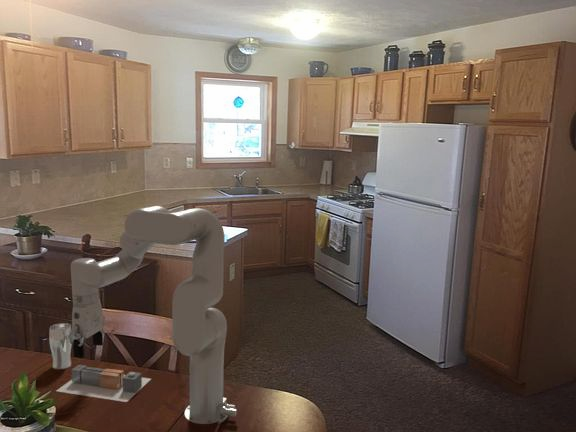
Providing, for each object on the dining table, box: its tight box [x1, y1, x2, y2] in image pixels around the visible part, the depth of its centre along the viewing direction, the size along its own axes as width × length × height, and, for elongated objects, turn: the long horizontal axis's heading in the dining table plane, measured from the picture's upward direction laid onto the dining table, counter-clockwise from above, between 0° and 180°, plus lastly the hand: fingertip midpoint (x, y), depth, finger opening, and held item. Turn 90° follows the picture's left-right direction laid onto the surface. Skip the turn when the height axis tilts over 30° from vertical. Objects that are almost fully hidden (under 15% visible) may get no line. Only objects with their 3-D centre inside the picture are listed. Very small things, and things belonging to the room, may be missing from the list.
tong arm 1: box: [70, 366, 120, 389], centre depth 155 cm, size 16×2×4 cm, turn 76°
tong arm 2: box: [75, 364, 125, 386], centre depth 157 cm, size 16×2×4 cm, turn 79°
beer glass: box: [48, 322, 72, 370], centre depth 167 cm, size 7×7×15 cm
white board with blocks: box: [56, 371, 152, 403], centre depth 155 cm, size 24×15×6 cm, turn 77°
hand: (88, 351), depth 155 cm, fingers open, 9 cm apart
